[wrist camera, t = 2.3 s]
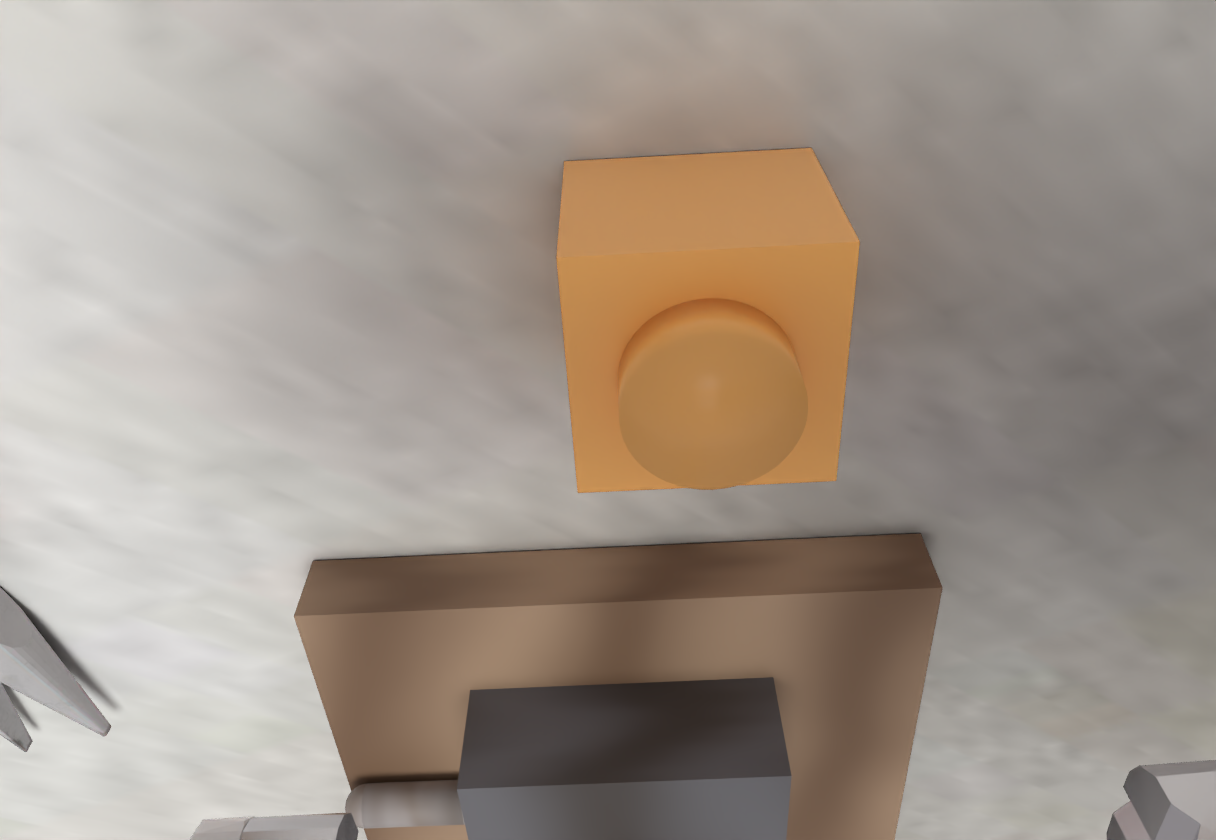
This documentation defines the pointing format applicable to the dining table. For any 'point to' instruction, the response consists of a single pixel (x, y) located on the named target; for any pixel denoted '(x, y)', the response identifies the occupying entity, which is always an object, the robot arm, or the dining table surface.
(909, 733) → the board
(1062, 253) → the dining table surface
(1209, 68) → the dining table surface
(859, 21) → the dining table surface
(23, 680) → the pliers
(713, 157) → the orange knobbed cube
